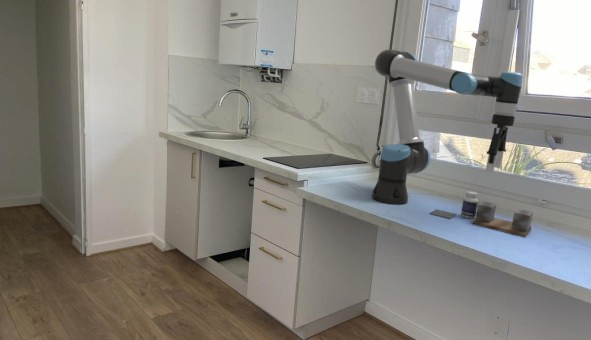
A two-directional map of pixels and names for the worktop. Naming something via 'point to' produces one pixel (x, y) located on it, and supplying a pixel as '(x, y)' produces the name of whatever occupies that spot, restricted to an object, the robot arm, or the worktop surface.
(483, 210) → the board with two blocks
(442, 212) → the pad
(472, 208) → the pill bottle
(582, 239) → the worktop surface
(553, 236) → the worktop surface
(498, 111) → the robot arm
